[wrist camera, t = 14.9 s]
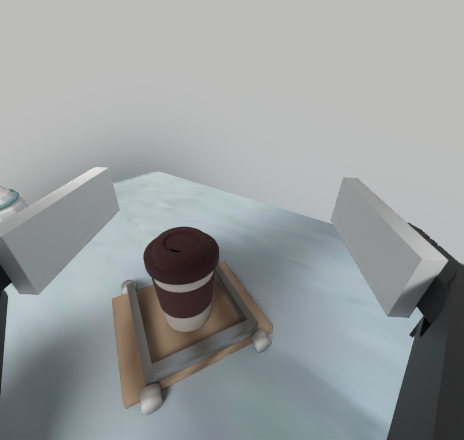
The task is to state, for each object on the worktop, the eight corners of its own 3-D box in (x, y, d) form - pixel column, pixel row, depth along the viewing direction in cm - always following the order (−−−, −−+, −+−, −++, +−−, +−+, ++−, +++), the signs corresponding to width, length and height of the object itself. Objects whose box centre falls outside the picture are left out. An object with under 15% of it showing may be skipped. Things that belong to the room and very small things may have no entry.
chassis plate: (220, 260, 51) (221, 246, 49) (279, 343, 36) (283, 327, 34) (112, 296, 42) (107, 280, 40) (127, 427, 27) (120, 413, 24)
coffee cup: (200, 281, 44) (196, 213, 36) (230, 320, 37) (233, 247, 29) (148, 306, 39) (131, 233, 31) (172, 355, 32) (158, 279, 24)
